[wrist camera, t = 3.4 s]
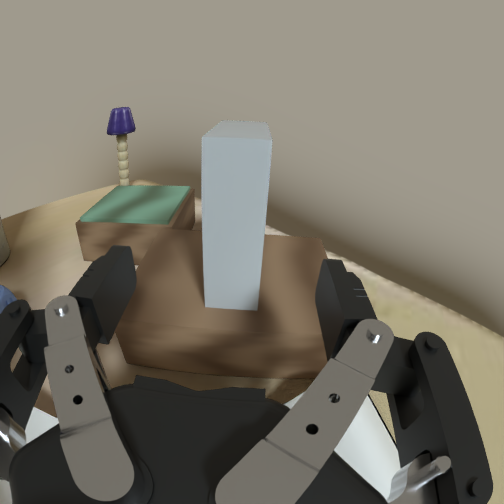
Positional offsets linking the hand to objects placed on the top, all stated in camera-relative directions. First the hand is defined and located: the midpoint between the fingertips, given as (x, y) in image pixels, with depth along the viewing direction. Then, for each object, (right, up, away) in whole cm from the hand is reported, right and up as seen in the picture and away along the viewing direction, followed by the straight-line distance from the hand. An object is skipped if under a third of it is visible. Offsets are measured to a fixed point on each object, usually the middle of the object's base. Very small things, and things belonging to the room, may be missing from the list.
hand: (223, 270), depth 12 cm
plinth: (-13, +2, +25) cm, 28 cm away
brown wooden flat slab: (0, -5, +14) cm, 15 cm away
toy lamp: (-20, +8, +34) cm, 41 cm away
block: (0, -1, +11) cm, 11 cm away
